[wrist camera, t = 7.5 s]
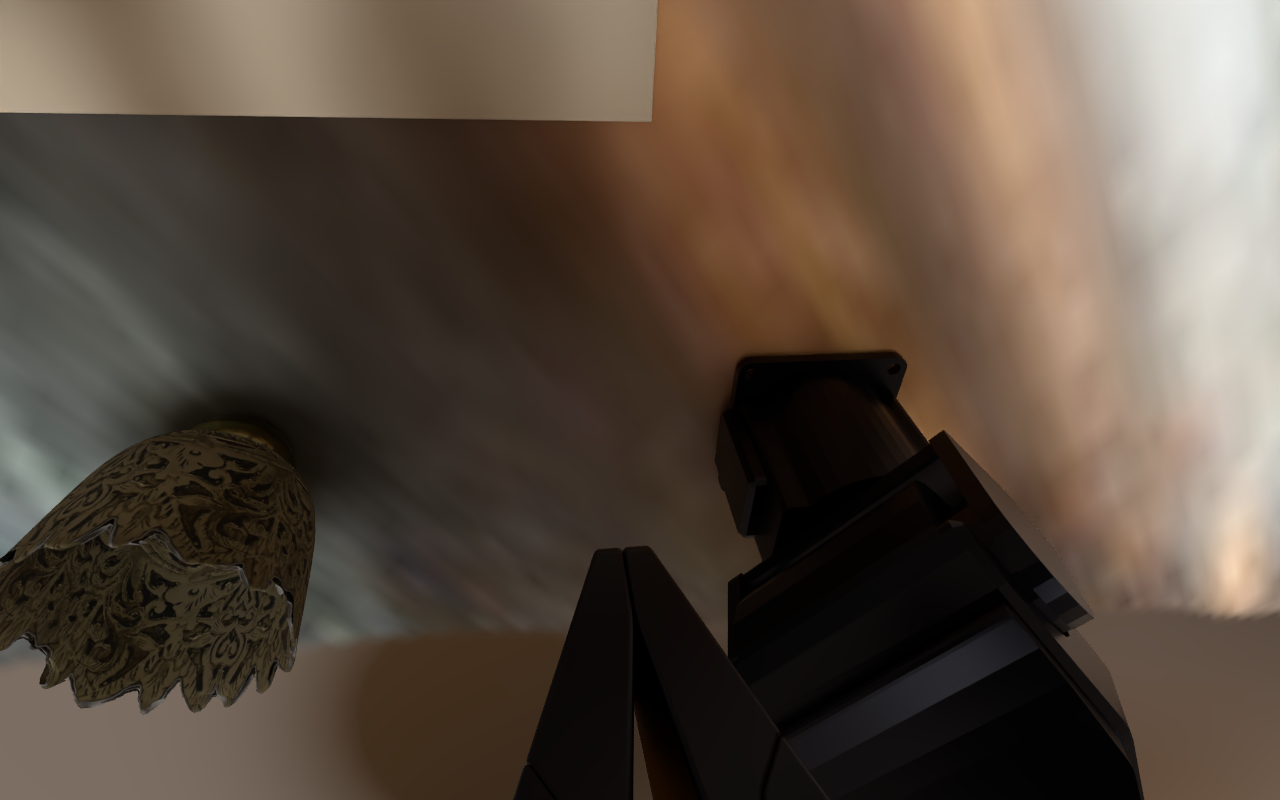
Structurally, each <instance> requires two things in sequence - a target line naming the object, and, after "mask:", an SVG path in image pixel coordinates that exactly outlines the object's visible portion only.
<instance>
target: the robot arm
mask: <svg viewBox="0 0 1280 800" xmlns="http://www.w3.org/2000/svg"><path fill="white" fill-rule="evenodd" d="M892 364H895V365H894V366H893V367H892V368H889V366H891V365H892ZM888 368H889V369H888ZM906 368H907V363H906V361H905V360H904V359H903V357H902V356H901V355H900V354H898V353H895V352H884V353H855V354H825V355H795V356H765V357H748V358H745V359H743V360H741V361H740V362H739V363H738V365H737V367H736V371H735V377H734V383H733V390H732V396H731V402H730V408H727V409H726V410H725V411H724V412H723V413H722V416H721V422H720V429H719V435H718V442H717V449H716V455H715V463H716V466H717V469H718V472H719V477H718V480H719V484H720V487H721V489H722V490H723V491H725V494H726V497H727V500H728V503H729V506H730V509H731V512H732V515H733V518H734V521H735V524H736V527H737V530H738V533H740V534H741V535H742V536H743V537H744V538H749V537H754V538H755V541H756V544H757V547H758V550H759V553H760V555H761V558H762V562H761V563H760V564H758V565H757V566H755V567H754V568H752V569H751V570H750V571H748V572H747V573H745V574H742V573H741V574H739V575H738V576H736V577H735V578H733V579H732V580H730V581H729V582H728V657H727V655H726V654H725V652H724V651H723V650H722V648H721V647H720V645H719V644H718V642H717V641H716V639H715V638H714V637H713V635H712V634H711V633H710V631H709V630H708V628H707V627H706V625H705V624H704V622H703V621H702V620H701V618H700V617H699V615H698V614H697V612H696V611H695V610H694V608H693V607H692V605H691V604H690V602H689V601H688V600H687V598H686V597H685V595H684V594H683V592H682V591H681V590H680V588H679V587H678V585H677V584H676V583H675V581H674V580H673V578H672V577H671V575H670V574H669V573H668V571H667V570H666V568H665V567H664V565H663V564H662V563H661V561H660V560H659V558H658V557H657V555H656V554H655V553H654V551H653V550H652V549H651V548H650V547H648V546H635V547H626V548H625V549H624V550H623V552H622V550H621V549H620V548H607V549H598V550H596V551H595V553H594V555H593V558H592V561H591V564H590V567H589V570H588V573H587V576H586V579H585V582H584V585H583V588H582V591H581V594H580V598H579V601H578V604H577V607H576V610H575V613H574V616H573V619H572V622H571V625H570V628H569V631H568V634H567V637H566V641H565V644H564V647H563V650H562V653H561V656H560V659H559V662H558V665H557V669H556V671H555V674H554V677H553V680H552V684H551V686H550V690H549V693H548V696H547V699H546V702H545V705H544V708H543V711H542V714H541V717H540V720H539V724H538V726H537V729H536V732H535V736H534V739H533V742H532V745H531V748H530V751H529V754H528V757H527V760H526V762H527V765H526V766H524V768H523V771H522V774H521V778H520V781H519V784H518V787H517V790H516V793H515V796H514V798H513V800H633V758H634V757H633V754H634V752H633V750H634V749H633V748H634V713H635V718H636V722H637V727H638V732H639V737H640V741H641V746H642V750H643V755H644V760H645V765H646V770H647V775H648V779H649V784H650V789H651V793H652V798H653V800H1144V796H1143V791H1142V785H1141V780H1140V774H1139V769H1138V763H1137V758H1136V753H1135V747H1134V742H1133V738H1132V735H1131V732H1130V729H1129V726H1128V723H1127V720H1126V717H1125V715H1124V711H1123V709H1122V706H1121V703H1120V700H1119V697H1118V694H1117V691H1116V688H1115V685H1114V682H1113V679H1112V677H1111V674H1110V671H1109V670H1108V668H1107V667H1106V665H1105V663H1104V662H1103V661H1102V660H1101V658H1100V657H1099V656H1098V655H1097V654H1096V652H1095V651H1094V650H1093V648H1092V647H1091V646H1090V645H1089V644H1088V642H1087V641H1086V640H1085V639H1084V637H1083V636H1082V635H1081V634H1080V633H1079V631H1078V630H1077V629H1076V628H1077V627H1079V626H1081V625H1083V624H1085V623H1086V622H1088V621H1090V620H1092V619H1094V618H1095V615H1094V613H1093V611H1092V609H1091V608H1090V606H1089V604H1088V603H1087V601H1086V599H1085V598H1084V596H1083V594H1082V593H1081V591H1080V589H1079V588H1078V586H1077V584H1076V583H1075V581H1074V579H1073V578H1072V576H1071V574H1070V573H1069V571H1068V570H1067V568H1066V566H1065V565H1064V563H1063V561H1062V560H1061V558H1060V556H1059V555H1058V553H1057V552H1056V550H1055V549H1054V548H1053V547H1052V545H1051V544H1050V543H1049V542H1048V541H1047V539H1046V538H1045V537H1044V536H1043V535H1042V533H1041V532H1040V531H1039V530H1038V529H1037V528H1036V526H1035V525H1034V524H1033V523H1032V522H1031V520H1030V519H1029V518H1028V517H1027V516H1026V514H1025V513H1024V512H1023V511H1022V510H1021V509H1020V507H1019V506H1018V505H1017V504H1016V503H1015V501H1014V500H1013V499H1012V498H1011V497H1010V496H1009V495H1008V494H1007V493H1006V492H1005V491H1004V490H1003V489H1002V488H1001V487H1000V486H999V485H998V484H997V483H996V482H995V481H994V480H993V479H992V478H991V477H990V476H989V475H988V474H987V473H986V472H985V471H984V470H983V469H982V468H981V467H980V466H979V465H978V464H977V463H976V462H975V461H974V460H973V459H972V458H971V457H970V455H969V454H968V453H967V452H966V451H965V450H964V449H963V448H962V447H961V446H960V445H959V444H958V443H957V442H956V441H955V440H954V439H953V438H952V437H951V436H950V435H949V434H948V433H947V432H946V431H944V430H943V431H941V432H940V433H938V434H937V435H936V436H934V437H933V438H931V439H930V440H929V442H930V444H929V442H928V441H927V440H926V438H925V437H924V436H923V434H922V433H921V431H920V430H919V429H918V427H917V426H916V425H915V423H914V422H913V421H912V419H911V418H910V417H909V415H908V414H907V412H906V411H905V410H904V408H903V407H902V406H901V404H900V403H899V402H898V400H897V399H896V397H897V394H898V391H899V389H900V386H901V383H902V380H903V377H904V374H905V371H906ZM749 369H755V371H754V372H753V373H751V374H746V372H747V371H748V370H749Z"/></svg>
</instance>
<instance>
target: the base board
mask: <svg viewBox="0 0 1280 800" xmlns="http://www.w3.org/2000/svg"><path fill="white" fill-rule="evenodd" d="M657 8H658V0H0V112H16V113H84V114H151V115H219V116H287V117H355V118H423V119H491V120H559V121H627V122H652V103H653V84H654V65H655V46H656V27H657Z"/></svg>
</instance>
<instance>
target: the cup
mask: <svg viewBox="0 0 1280 800" xmlns="http://www.w3.org/2000/svg"><path fill="white" fill-rule="evenodd" d="M295 469H296V465H295V458H294V453H293V450H292V448H291V445H290V444H289V442H288V441H287V439H286V438H285V437H284V436H283V435H282V434H281V433H280V432H279V431H278V430H277V429H275V428H274V427H272V426H271V425H269V424H267V423H265V422H263V421H261V420H258V419H255V418H251V417H248V416H242V415H222V416H216V417H212V418H209V419H207V420H204V421H202V422H200V423H198V424H196V425H194V426H193V427H191V428H190V429H188V430H186V431H178V432H172V433H167V434H163V435H159V436H155V437H152V438H149V439H146V440H144V441H142V442H139V443H137V444H135V445H133V446H131V447H129V448H127V449H125V450H123V451H122V452H120V453H119V454H117V455H116V456H114V457H113V458H111V459H110V460H108V461H107V462H105V463H104V464H103V465H101V466H100V467H99V468H98V469H96V470H95V471H94V472H93V473H91V474H90V475H89V476H88V477H87V478H86V479H85V480H83V481H82V482H81V483H80V484H79V485H78V486H77V487H76V488H75V489H74V490H72V491H71V492H70V493H69V494H68V495H67V496H66V497H65V498H64V499H63V500H62V501H61V502H60V503H59V504H58V505H56V506H55V507H54V508H53V509H52V510H51V511H50V512H49V513H48V514H47V515H46V516H45V517H44V518H43V519H42V520H41V521H40V522H39V523H38V524H37V525H36V526H35V527H34V528H32V529H31V530H30V531H29V532H28V533H27V534H26V535H25V536H24V537H23V538H22V539H21V540H20V541H19V542H18V543H17V544H16V545H15V546H14V547H13V548H12V549H11V550H10V551H9V552H8V553H7V554H6V555H5V556H3V557H2V558H0V651H2V650H5V649H7V648H9V647H10V646H11V645H12V644H13V642H15V641H16V640H18V639H21V638H24V639H26V640H28V641H29V648H30V649H31V650H40V651H41V652H43V650H44V651H45V652H46V653H47V655H46V654H45V653H44V652H43V653H44V654H45V655H46V659H45V662H46V666H45V669H44V671H43V673H42V675H41V677H40V685H41V686H42V688H44V689H48V688H51V687H53V686H55V685H57V684H60V683H62V682H64V680H65V679H66V678H68V677H69V680H70V684H71V685H70V687H71V691H72V692H73V695H74V702H75V703H76V704H77V706H78V707H80V708H91V707H96V706H98V705H101V704H103V703H105V702H109V701H112V700H115V699H116V698H119V697H121V696H123V695H124V694H126V693H128V692H132V691H138V702H139V706H140V712H141V714H142V715H144V714H147V713H148V712H150V711H151V710H153V709H154V708H155V707H156V706H158V705H159V704H160V703H162V702H163V701H164V700H165V699H166V697H167V695H168V694H169V692H170V691H171V690H172V689H173V688H174V687H175V686H176V684H177V683H179V682H180V684H181V685H180V687H181V692H182V696H183V697H184V698H185V701H186V703H187V706H188V708H189V709H190V710H191V711H192V712H194V713H195V712H198V711H201V710H202V709H203V708H205V707H206V705H207V704H208V702H209V701H210V700H211V699H212V697H219V698H220V700H221V701H222V702H223V704H224V707H230V706H231V705H232V704H234V703H235V702H236V701H237V700H238V699H239V698H240V697H241V696H242V694H243V693H244V692H245V690H246V689H247V687H248V686H249V684H250V683H251V681H252V679H253V677H255V676H254V675H255V673H256V688H257V689H256V692H258V693H260V694H262V693H264V692H265V691H266V690H267V689H268V688H269V686H270V685H271V683H272V681H273V678H274V675H275V672H276V669H277V667H278V666H279V668H280V669H281V670H283V671H284V672H290V671H291V670H292V667H293V664H294V661H295V656H296V650H297V642H298V636H299V631H300V626H301V621H302V615H303V610H304V605H305V600H306V594H307V589H308V583H309V577H310V571H311V565H312V558H313V551H314V543H315V511H314V507H313V503H312V499H311V496H310V493H309V490H308V488H307V487H306V485H305V483H304V481H303V480H302V478H301V476H300V475H299V474H298V472H297V471H296V470H295ZM22 635H25V636H26V637H28V639H27V638H25V637H20V636H22ZM41 648H42V649H43V650H42V649H41ZM137 688H139V689H140V692H139V690H138V689H137ZM131 689H132V690H131ZM128 690H129V691H128ZM217 694H218V695H219V696H217Z"/></svg>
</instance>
